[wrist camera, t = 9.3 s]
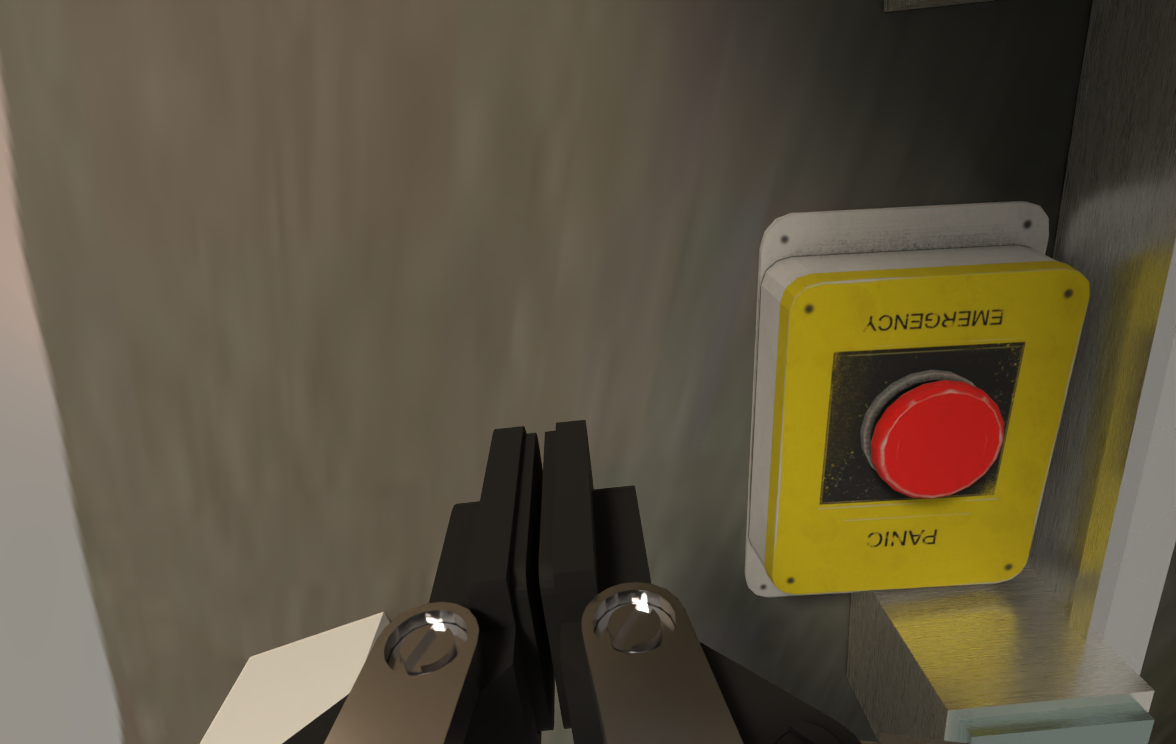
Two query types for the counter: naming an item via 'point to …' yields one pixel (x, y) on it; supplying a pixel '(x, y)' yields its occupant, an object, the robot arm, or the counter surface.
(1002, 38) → the counter surface
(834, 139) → the counter surface
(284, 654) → the block
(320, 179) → the counter surface
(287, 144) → the counter surface
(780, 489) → the emergency button
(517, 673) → the robot arm
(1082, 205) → the rail fixture
